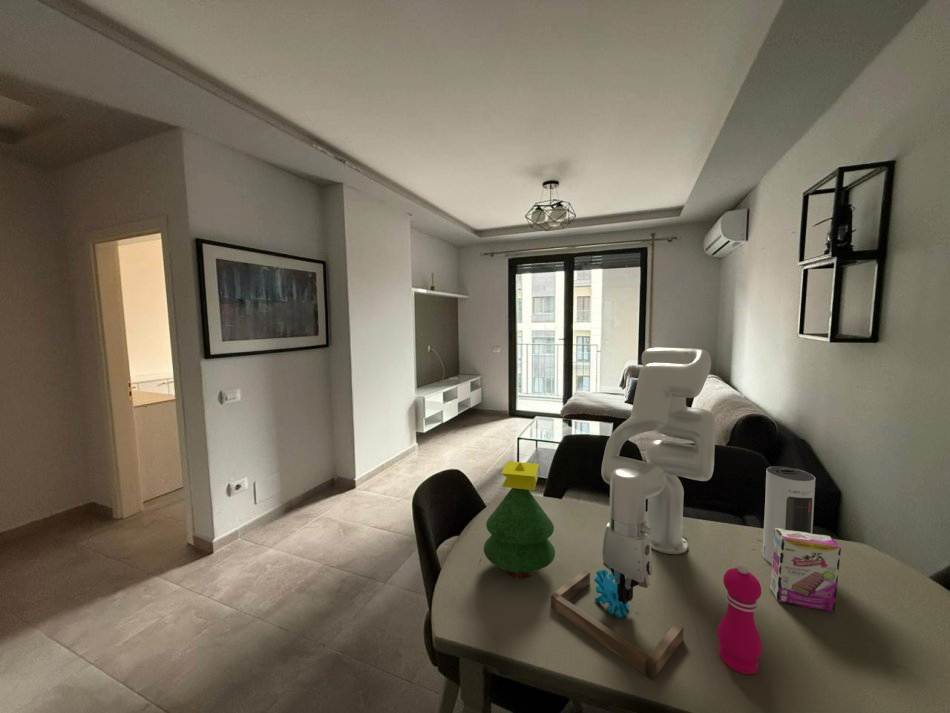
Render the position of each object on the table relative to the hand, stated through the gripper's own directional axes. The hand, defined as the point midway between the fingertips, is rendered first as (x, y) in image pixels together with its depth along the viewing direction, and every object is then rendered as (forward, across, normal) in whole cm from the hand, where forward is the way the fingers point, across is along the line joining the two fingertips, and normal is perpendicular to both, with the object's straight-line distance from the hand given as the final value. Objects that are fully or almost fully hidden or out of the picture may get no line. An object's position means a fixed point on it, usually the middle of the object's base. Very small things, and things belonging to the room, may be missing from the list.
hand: (624, 599), depth 86 cm
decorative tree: (+3, +26, +8) cm, 27 cm away
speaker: (+3, -20, -51) cm, 55 cm away
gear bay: (+3, 0, +5) cm, 6 cm away
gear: (+3, +3, +1) cm, 4 cm away
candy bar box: (+3, -26, -35) cm, 44 cm away
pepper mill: (+3, -21, -5) cm, 22 cm away
